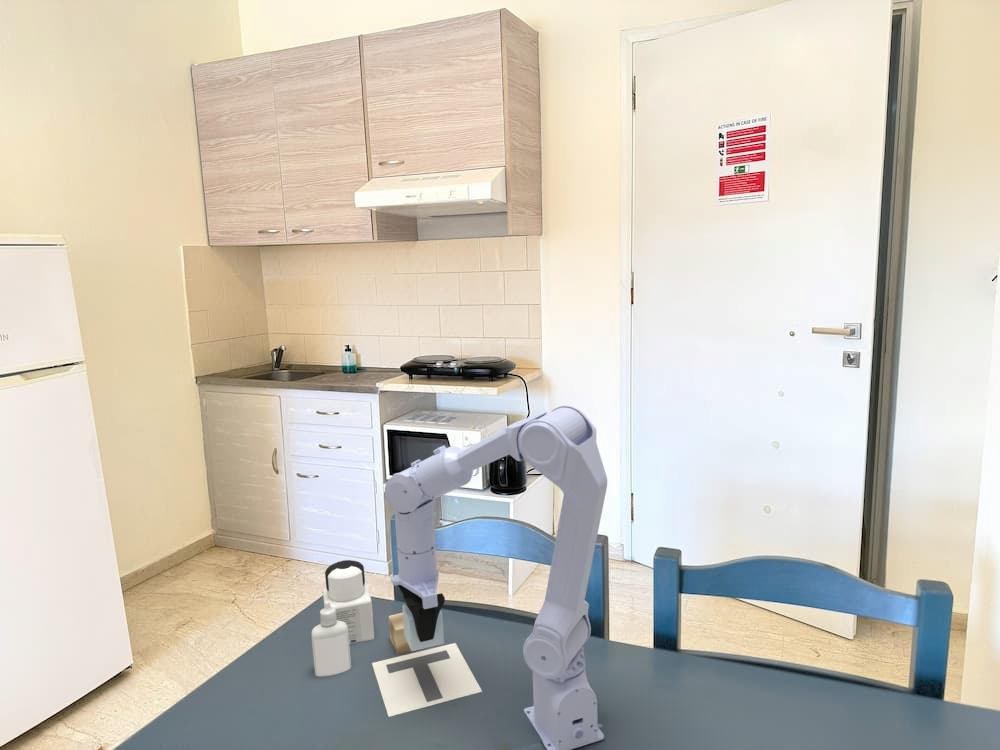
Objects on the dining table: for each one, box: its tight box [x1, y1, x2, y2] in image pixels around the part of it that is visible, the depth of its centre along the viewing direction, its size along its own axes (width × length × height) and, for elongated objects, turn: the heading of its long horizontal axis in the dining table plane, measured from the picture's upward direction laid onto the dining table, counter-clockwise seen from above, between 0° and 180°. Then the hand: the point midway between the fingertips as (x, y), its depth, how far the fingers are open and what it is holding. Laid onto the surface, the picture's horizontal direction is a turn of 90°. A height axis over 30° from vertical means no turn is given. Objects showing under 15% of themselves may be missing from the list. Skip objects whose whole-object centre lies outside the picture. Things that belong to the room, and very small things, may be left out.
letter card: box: [371, 642, 483, 718], centre depth 103 cm, size 14×14×1 cm
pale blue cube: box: [401, 603, 445, 652], centre depth 102 cm, size 5×5×5 cm
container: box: [322, 559, 375, 645], centre depth 116 cm, size 8×8×13 cm
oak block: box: [388, 612, 412, 655], centre depth 112 cm, size 5×5×5 cm
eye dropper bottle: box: [311, 601, 352, 677], centre depth 105 cm, size 4×6×12 cm
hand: (421, 630), depth 102 cm, fingers closed on pale blue cube, 5 cm apart
